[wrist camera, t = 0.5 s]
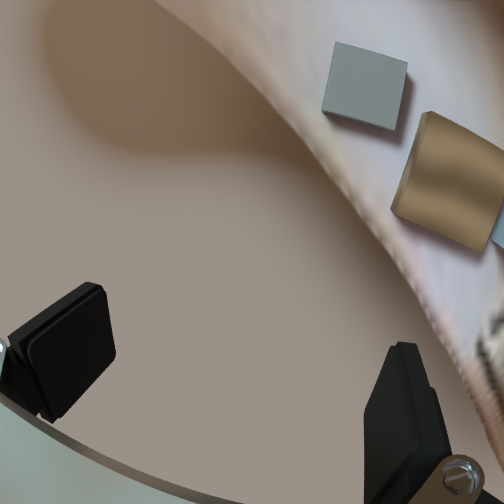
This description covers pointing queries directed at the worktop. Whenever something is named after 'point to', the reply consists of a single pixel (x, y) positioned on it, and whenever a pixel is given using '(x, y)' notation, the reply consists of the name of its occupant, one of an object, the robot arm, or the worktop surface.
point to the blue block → (499, 230)
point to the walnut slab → (451, 182)
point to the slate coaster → (364, 86)
